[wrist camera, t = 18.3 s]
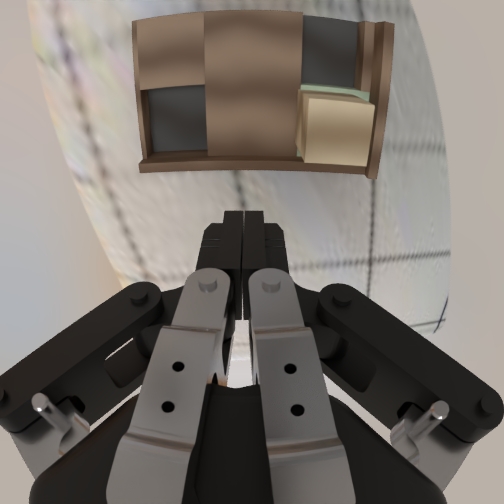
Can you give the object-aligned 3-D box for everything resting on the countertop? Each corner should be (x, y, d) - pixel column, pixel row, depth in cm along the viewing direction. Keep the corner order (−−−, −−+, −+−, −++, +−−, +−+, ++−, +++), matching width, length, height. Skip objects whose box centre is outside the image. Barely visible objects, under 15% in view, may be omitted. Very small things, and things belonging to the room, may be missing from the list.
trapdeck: (140, 22, 24) (122, 19, 20) (375, 26, 24) (394, 23, 20) (150, 159, 33) (136, 177, 29) (362, 161, 33) (376, 179, 29)
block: (297, 89, 27) (309, 98, 22) (353, 94, 27) (374, 105, 22) (295, 142, 30) (304, 162, 25) (347, 145, 30) (366, 166, 25)
